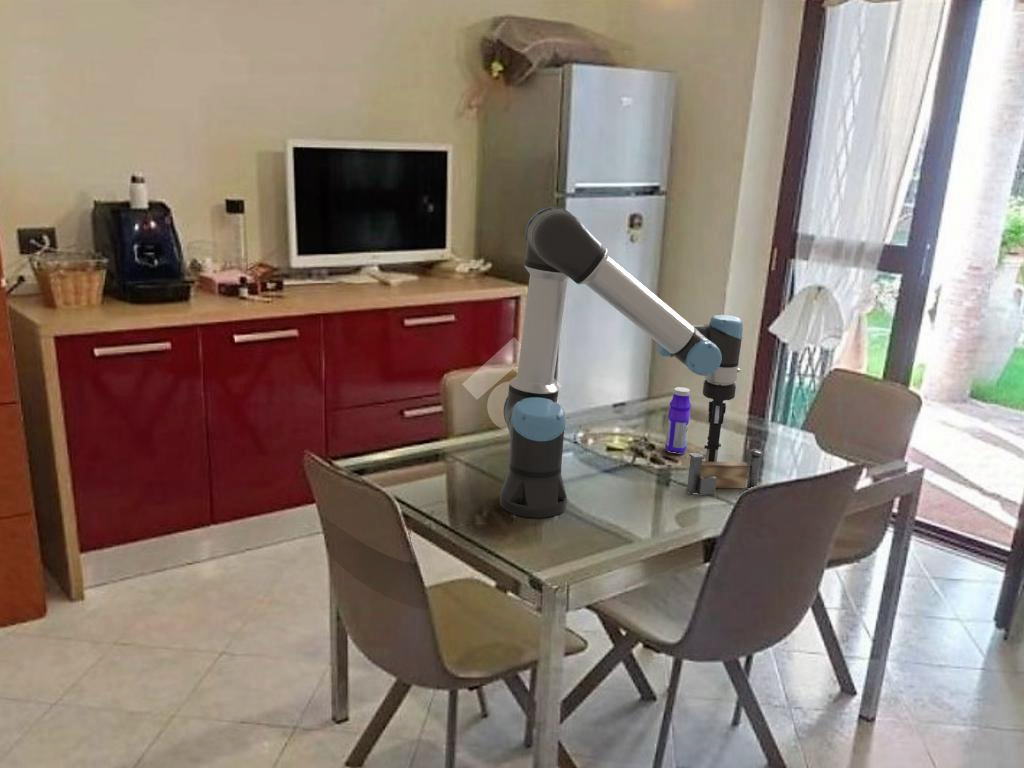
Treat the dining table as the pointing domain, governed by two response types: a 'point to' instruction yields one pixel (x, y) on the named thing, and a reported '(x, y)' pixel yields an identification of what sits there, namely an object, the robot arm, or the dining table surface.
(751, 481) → the hinge post
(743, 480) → the gate
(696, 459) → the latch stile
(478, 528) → the dining table surface
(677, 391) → the bottle
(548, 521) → the dining table surface
